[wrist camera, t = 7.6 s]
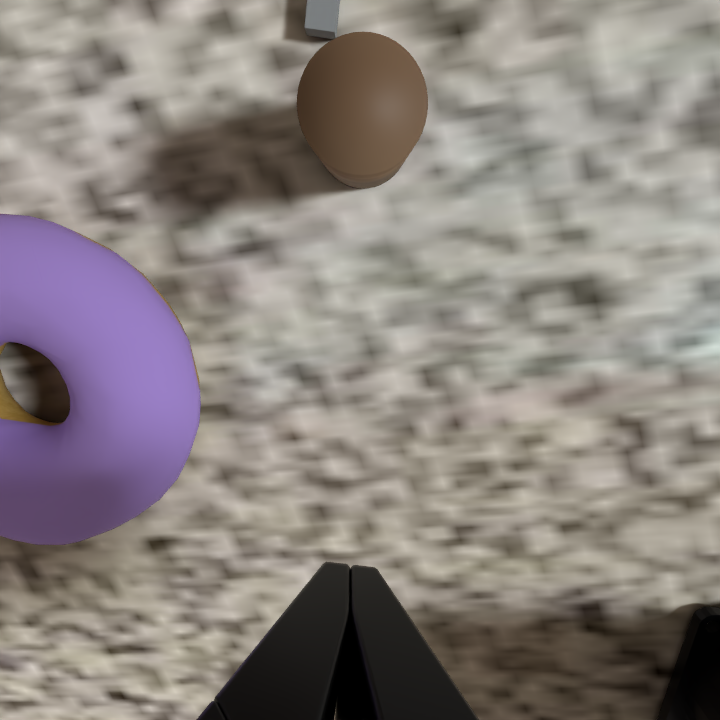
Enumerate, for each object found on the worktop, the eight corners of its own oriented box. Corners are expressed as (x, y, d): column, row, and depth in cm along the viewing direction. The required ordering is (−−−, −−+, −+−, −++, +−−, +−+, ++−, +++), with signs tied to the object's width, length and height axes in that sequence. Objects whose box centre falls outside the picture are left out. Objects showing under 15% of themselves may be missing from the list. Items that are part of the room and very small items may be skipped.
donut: (282, 371, 17) (222, 455, 13) (128, 517, 21) (40, 622, 16) (26, 131, 15) (-145, 132, 11) (-94, 335, 19) (-260, 398, 14)
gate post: (400, 194, 16) (417, 182, 11) (313, 181, 16) (290, 164, 11) (414, 98, 15) (438, 41, 10) (323, 85, 15) (303, 22, 10)
